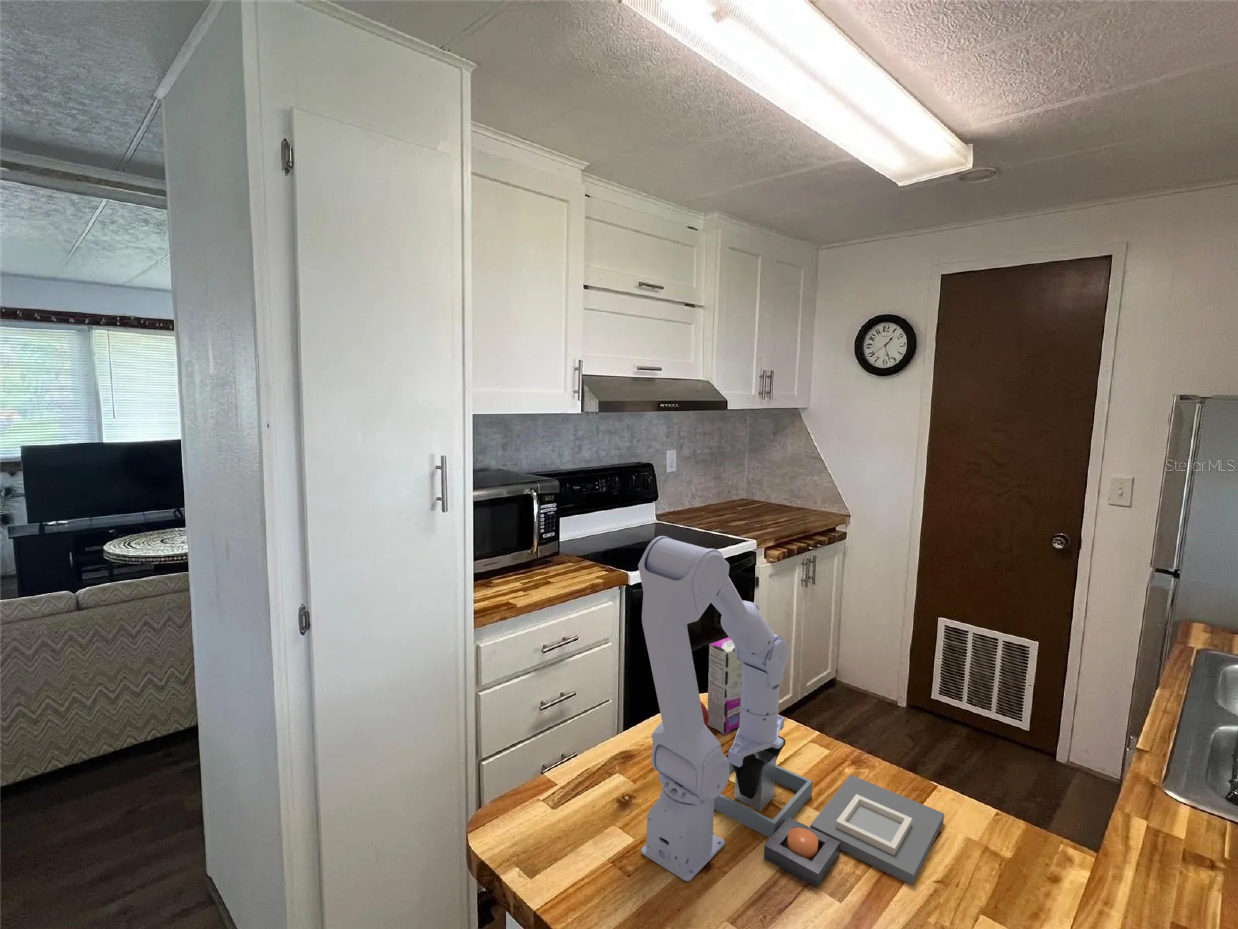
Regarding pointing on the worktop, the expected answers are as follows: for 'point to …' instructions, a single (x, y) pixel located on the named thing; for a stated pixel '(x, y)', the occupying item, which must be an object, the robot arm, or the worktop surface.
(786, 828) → the button collar
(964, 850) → the worktop surface
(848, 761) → the worktop surface
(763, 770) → the block
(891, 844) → the board
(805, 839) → the button
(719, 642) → the candy bar box
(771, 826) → the tote
